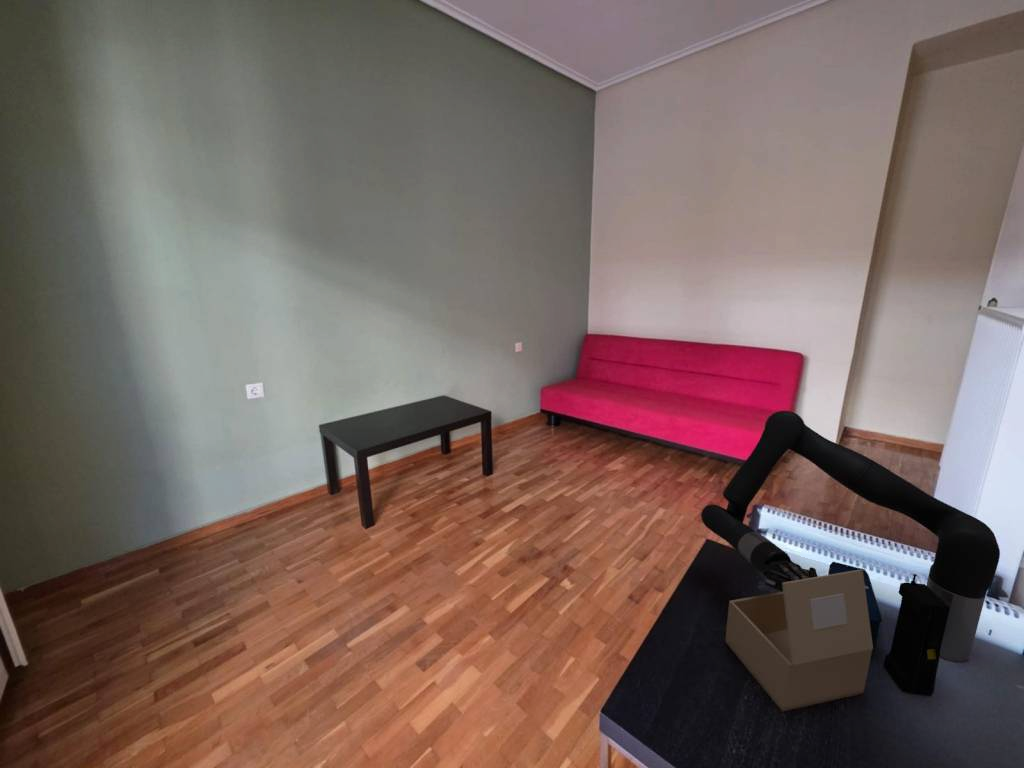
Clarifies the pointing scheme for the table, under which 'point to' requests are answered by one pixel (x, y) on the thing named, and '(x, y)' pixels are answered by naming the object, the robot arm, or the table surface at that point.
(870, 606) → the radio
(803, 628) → the carton flap
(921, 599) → the portable radio
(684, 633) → the table surface
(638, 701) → the table surface
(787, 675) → the kraft carton
